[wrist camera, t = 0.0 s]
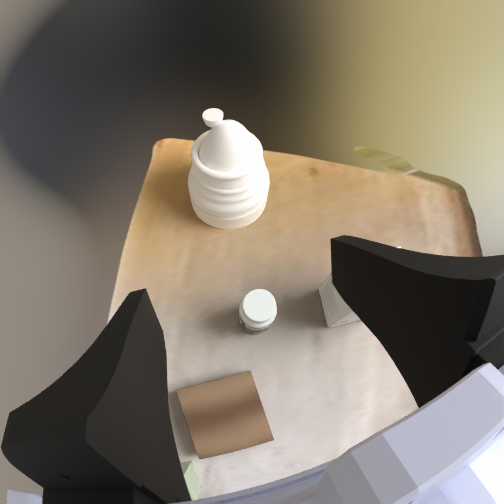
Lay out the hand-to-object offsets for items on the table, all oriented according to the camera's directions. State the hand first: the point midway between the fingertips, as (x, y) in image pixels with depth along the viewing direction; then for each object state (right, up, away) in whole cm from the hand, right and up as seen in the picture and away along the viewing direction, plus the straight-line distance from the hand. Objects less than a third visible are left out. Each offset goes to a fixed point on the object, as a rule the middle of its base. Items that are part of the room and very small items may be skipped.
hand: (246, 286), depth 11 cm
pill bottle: (+1, -8, +32) cm, 33 cm away
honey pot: (-4, +11, +40) cm, 42 cm away
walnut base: (-3, -21, +26) cm, 33 cm away
